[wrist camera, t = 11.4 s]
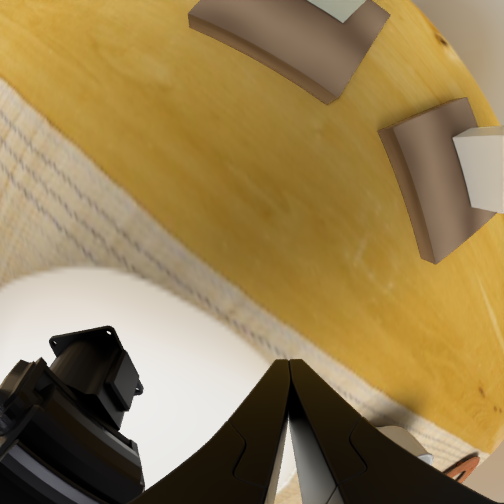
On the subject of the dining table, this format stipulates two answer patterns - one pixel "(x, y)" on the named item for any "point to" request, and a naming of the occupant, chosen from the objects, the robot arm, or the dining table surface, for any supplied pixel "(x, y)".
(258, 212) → the dining table surface
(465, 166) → the tile one
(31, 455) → the robot arm
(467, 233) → the plinth
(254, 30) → the plinth
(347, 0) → the tile two
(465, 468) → the ring
